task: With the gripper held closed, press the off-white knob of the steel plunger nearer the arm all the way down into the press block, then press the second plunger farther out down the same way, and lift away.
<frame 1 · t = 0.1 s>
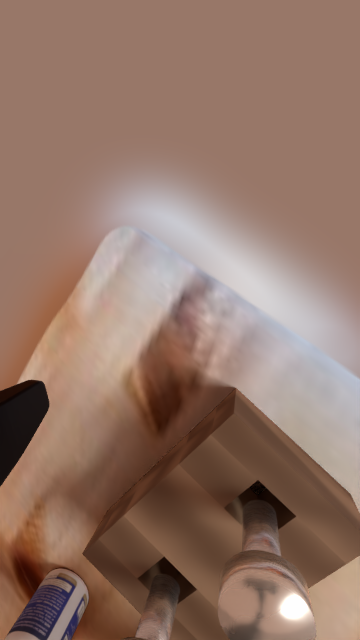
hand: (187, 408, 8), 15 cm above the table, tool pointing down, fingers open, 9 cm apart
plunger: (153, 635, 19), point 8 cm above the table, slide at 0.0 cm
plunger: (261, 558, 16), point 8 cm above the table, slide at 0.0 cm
pill bottle: (68, 586, 31), on the table
press block: (216, 503, 25), on the table
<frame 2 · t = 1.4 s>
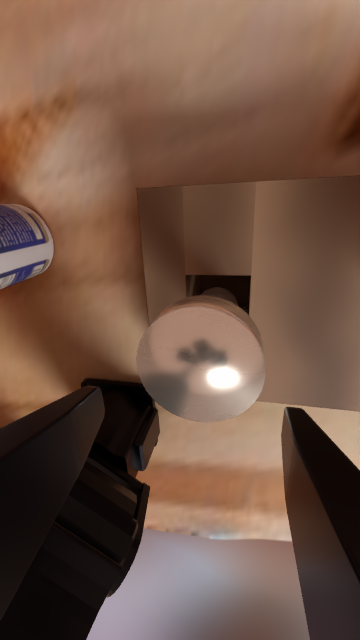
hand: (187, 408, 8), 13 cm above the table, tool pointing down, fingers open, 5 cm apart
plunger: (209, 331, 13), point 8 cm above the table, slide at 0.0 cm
pill bottle: (26, 241, 22), on the table
press block: (302, 284, 19), on the table
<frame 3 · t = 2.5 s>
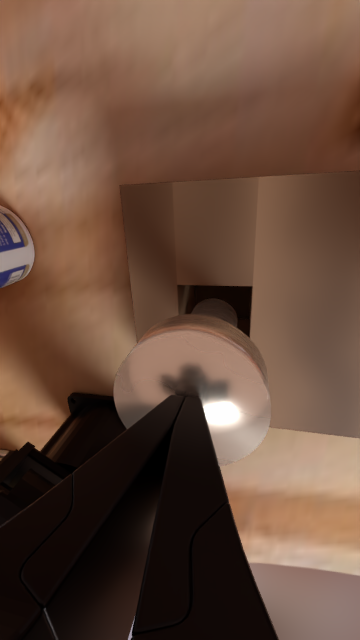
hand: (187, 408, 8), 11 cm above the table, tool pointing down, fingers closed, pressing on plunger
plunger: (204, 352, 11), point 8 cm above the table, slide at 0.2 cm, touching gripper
pill bottle: (5, 244, 20), on the table
press block: (309, 294, 17), on the table
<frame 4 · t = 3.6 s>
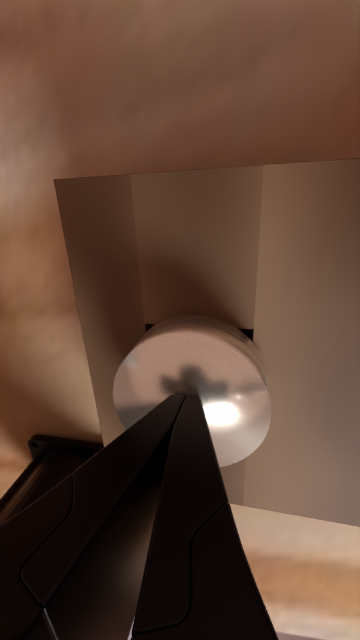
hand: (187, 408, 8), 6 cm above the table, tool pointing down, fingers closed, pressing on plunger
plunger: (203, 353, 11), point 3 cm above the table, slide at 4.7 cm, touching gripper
press block: (328, 326, 13), on the table
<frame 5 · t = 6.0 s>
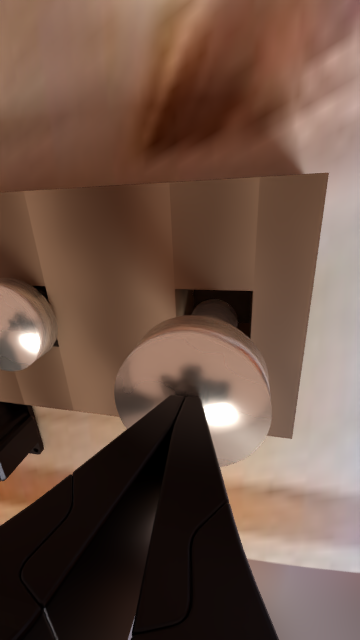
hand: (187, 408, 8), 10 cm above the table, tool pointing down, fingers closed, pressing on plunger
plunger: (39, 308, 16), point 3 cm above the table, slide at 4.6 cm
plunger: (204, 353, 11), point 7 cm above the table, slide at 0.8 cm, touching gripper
press block: (142, 293, 18), on the table
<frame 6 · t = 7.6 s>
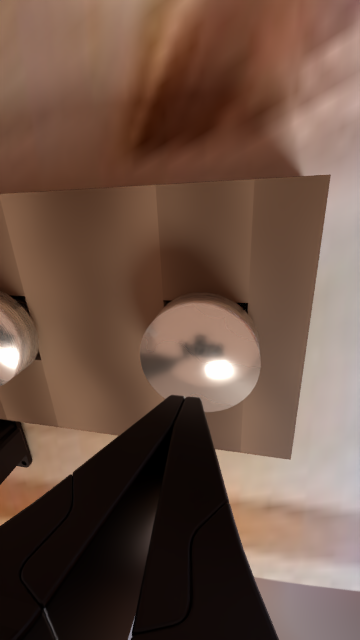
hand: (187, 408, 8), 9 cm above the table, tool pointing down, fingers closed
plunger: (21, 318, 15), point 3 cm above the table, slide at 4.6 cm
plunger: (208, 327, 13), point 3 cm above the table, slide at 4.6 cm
press block: (131, 301, 17), on the table
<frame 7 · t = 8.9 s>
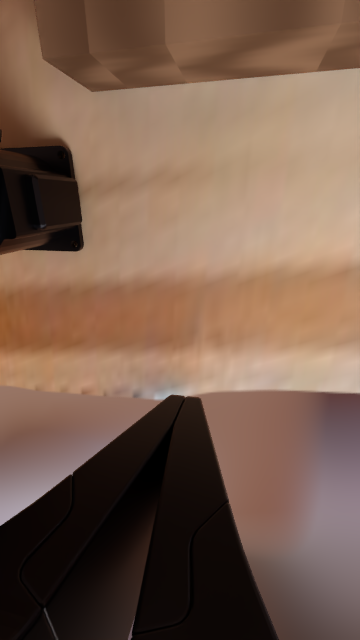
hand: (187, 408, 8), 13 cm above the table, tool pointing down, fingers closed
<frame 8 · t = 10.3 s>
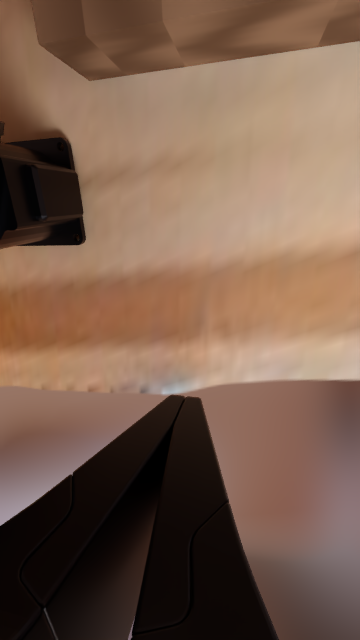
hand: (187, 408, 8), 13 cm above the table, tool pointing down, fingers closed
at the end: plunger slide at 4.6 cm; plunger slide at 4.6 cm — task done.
